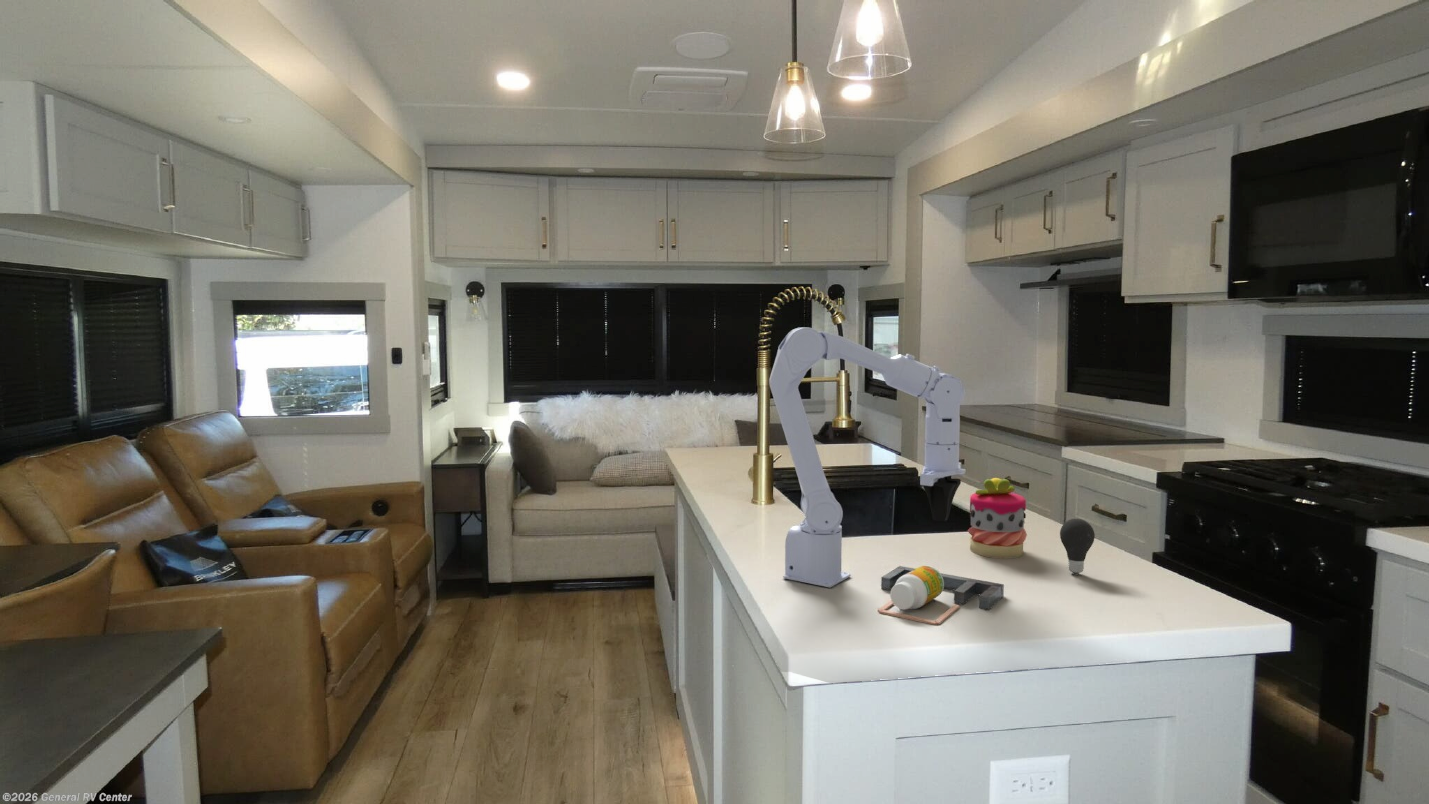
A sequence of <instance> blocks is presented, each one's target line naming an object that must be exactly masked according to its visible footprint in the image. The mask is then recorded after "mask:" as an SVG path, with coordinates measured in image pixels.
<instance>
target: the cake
mask: <svg viewBox="0 0 1429 804" xmlns="http://www.w3.org/2000/svg"><path fill="white" fill-rule="evenodd" d="M983 486H984V488H985V489H977V490H975V492H974V493H973V494H971V495H970V499H969V513H970V514H969V518H970V526H971V527H969V529H968V530H967V532H968V534H969V535H971V536H970V543H969V544H970V545H969V548H970V549H969V550H970V552H971V553H973V554H975V555H979V556H982V557H987V558H991V559H992V558H994V559H1014V558H1020V557H1021V556H1023V555H1024V542H1025V541H1026V538H1027V536H1028V534H1027V531H1026V530H1025V523H1026V522H1025V519H1026V517H1027V514H1026V512H1025V511H1026V508H1027V507H1026V506H1027V504H1026V503H1027V502H1026V499H1025V497H1023V495H1020V494H1017V493H1014V491H1015V487H1014V486H1013V485H1011V482H1010V481H1009V480H1008V479H1006V478H1004V479H1001V478H998V477H993V478H990V479H985V481H983Z"/></svg>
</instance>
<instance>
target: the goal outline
mask: <svg viewBox="0 0 1429 804" xmlns="http://www.w3.org/2000/svg"><path fill="white" fill-rule="evenodd" d="M893 606H895V605H894V604H893V602H892V600H891V599H890V601H888V602H887V603H885V604H884V605H883V606H880V607H879V608H878V609H877V612H878V613H879V614H882V615H883V614H884V615H888V616H893V617H898V618H901V619H906V620H911V621H916V622H920V623H925V624H930V625H934V626H935V625H941V624H943V622H944V621H945V620H946V619H948V618H949V617H950V616H952V614H954V613H955V612H956V611H957V610H959V608H960V607H961V606H960V604H953V605H952V606H951V607H950V608H949V609H947V610H946V611H945V612H944V613H943V614H941V615H940V616H939V617H937V619H935V620H934V619H933V620H932V619H929V618H923V617H919V616H913V615H910V614H909V615H908V614H904V613H901V612H895V611H891V610H889V608H891V607H893Z"/></svg>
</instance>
